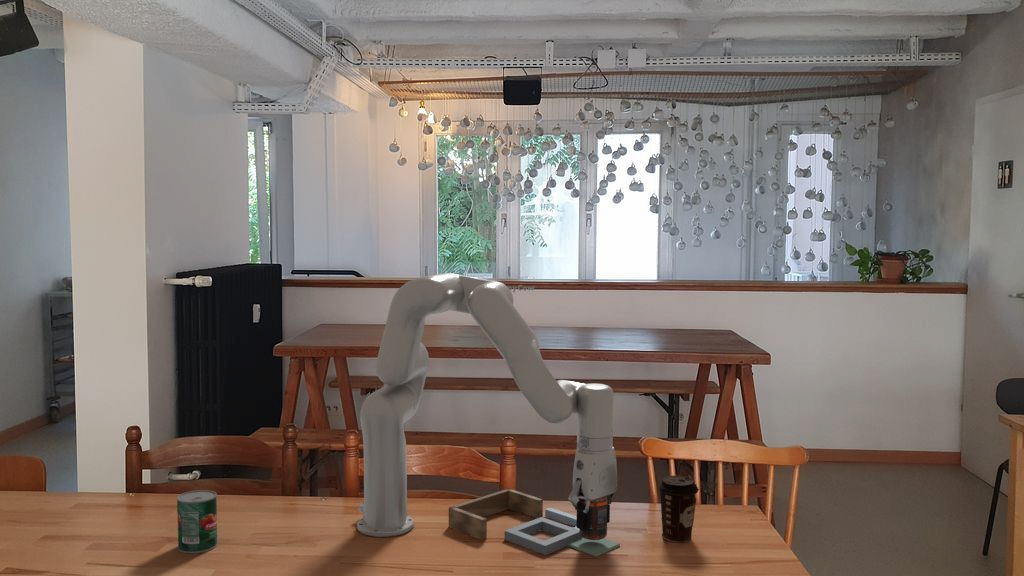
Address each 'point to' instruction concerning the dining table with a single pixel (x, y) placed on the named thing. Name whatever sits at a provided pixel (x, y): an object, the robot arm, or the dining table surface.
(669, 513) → the coffee cup
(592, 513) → the supplement bottle
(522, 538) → the hole board
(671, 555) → the dining table surface
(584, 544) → the pad
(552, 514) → the crook tool
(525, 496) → the cubby
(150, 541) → the dining table surface
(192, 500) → the canned tomato
